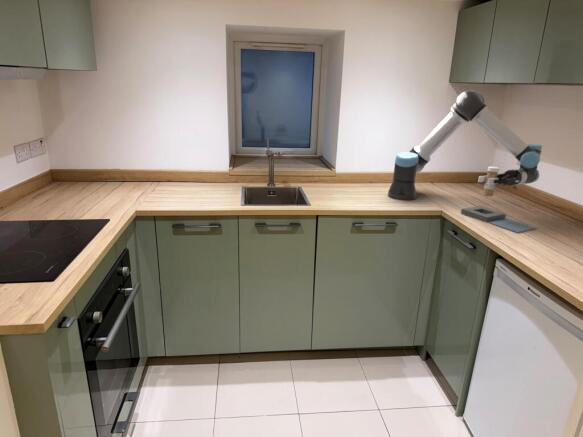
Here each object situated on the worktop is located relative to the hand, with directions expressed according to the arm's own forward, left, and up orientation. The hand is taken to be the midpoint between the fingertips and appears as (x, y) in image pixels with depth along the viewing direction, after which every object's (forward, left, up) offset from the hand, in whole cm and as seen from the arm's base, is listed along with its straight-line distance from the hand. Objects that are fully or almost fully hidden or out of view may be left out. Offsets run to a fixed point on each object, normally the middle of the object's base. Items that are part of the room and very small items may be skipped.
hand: (483, 180), depth 187 cm
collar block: (0, +5, -18) cm, 19 cm away
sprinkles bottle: (0, +5, -8) cm, 9 cm away
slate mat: (+15, +5, -18) cm, 24 cm away
